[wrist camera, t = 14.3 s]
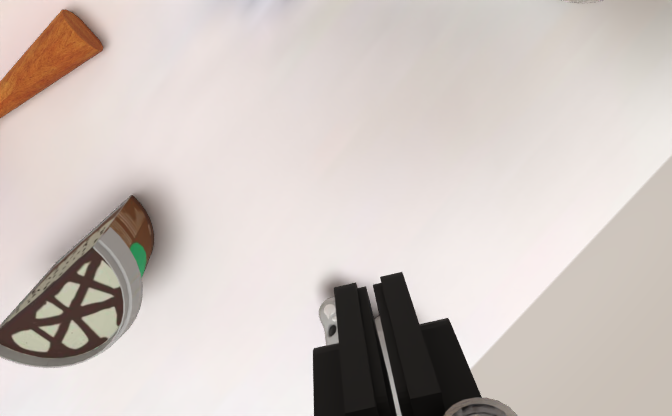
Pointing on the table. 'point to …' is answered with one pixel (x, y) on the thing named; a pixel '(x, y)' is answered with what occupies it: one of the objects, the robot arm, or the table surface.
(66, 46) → the kendama
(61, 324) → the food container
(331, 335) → the chubby cartoon animal
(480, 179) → the table surface
